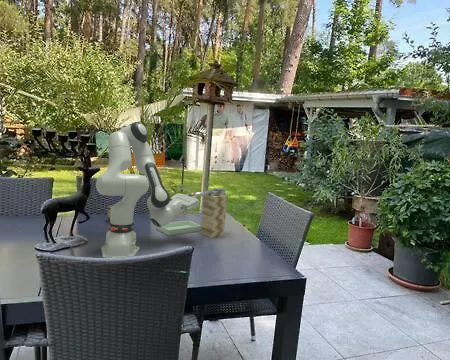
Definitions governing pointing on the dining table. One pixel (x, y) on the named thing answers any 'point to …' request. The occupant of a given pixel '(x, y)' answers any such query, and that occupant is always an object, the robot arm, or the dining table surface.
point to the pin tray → (179, 228)
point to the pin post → (214, 213)
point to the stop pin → (201, 193)
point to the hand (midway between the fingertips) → (195, 193)
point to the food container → (109, 212)
